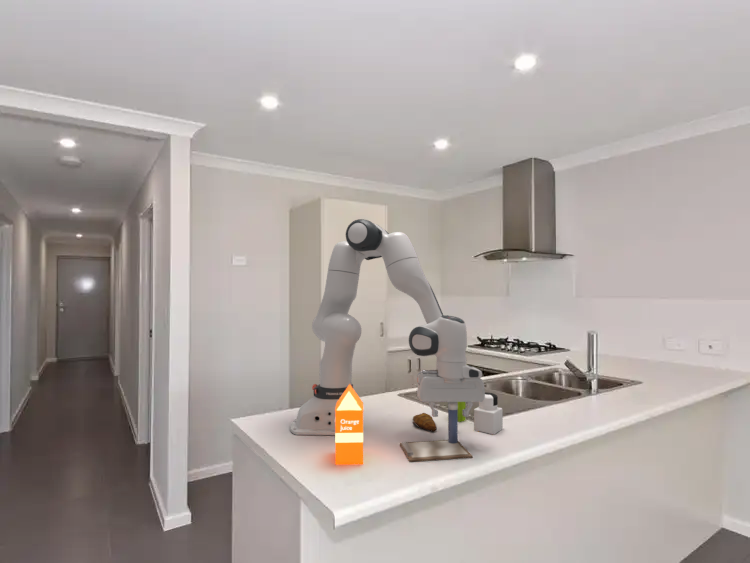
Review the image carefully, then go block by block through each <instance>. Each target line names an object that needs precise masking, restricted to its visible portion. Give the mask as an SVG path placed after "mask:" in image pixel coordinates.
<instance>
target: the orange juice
mask: <svg viewBox="0 0 750 563" xmlns="http://www.w3.org/2000/svg"><path fill="white" fill-rule="evenodd" d="M334 436H335V438H334V439H335V440H334V442H335V447H334V448H335V453H334V454H335V457H334V458H335V462H334V463H335V465H336V466H340V465H341V466H345V465H347V466H349V465H353V466H355V465H364V402H363V400H362V399H361V398H360V396H359V395H358V393H357V392H356V390H355V389H354V387H353V388H352V386H351V385H350V384H349V386H348V387H347V388H346V390H345V391H344V393H343V394H342V396H341V397H340V399H339V400H338V402H337V403H336V408H335V435H334Z"/></svg>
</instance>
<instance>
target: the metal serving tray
mask: <svg viewBox="0 0 750 563" xmlns="http://www.w3.org/2000/svg"><path fill="white" fill-rule="evenodd" d="M399 446H400V448H401V449H402V451H403V452H404V454H405V456H406V458H407V459H408V461H409V463H414V462H415V463H416V462H432V461H446V460H447V461H449V460H460V459H473V457H474V456H473V454H472V453H471V452H470V451H469V450H468V449H467V448H466V447H465V446H464V445H463V444H462V443H461V442H460V441H459V440H458V443H449V442H448V439H440V440H424V441H410V442H409V441H405V442H403V441H402V442H399Z"/></svg>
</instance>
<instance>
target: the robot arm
mask: <svg viewBox="0 0 750 563" xmlns="http://www.w3.org/2000/svg"><path fill="white" fill-rule="evenodd" d="M380 258H382V260H383V262H384V266H385V269H386V272H387V276H388V279H389V281H390V283H391V284H392V286H393V288H395V289H397V290H398V291H399V292H402V293H404V294H406V295H407V296H409V297H411V298H412V300H414V301H415V302H416V303H417V305H418V307H419V308H420V310H421V313H422V316H423V317H424V318H423V319H424V321H425V323H426V324H425V323H424V324H423V325H418V326H416V327H413V329H412V330H411V331H410V333H409V336H408V345H409V348H410V350H411V351H412V353H414V354H415V355H416V356H420V357H429V356H431V357H432V356H435V357H436V369H422V370H421V371H419V372H418V373H417V375H416V376H417V378H416V381H417V384H418V385H417V390H416V392H417V393H416V397H417V399H418V400H419V401H420V402H422V403H428V406H429V407H430V409H431V417H432V418H438V417H439V410H438V409H435V407H434V406H435V404H436V403H448V402H466V408H465V409H462V412H463V413H462V415H463V416H464V417H469V414H470V411H471V409H472V407H473V404H474V402H475V403H479V402H482V401H483V400H484V398H485V393H486V392H485V390H486V389H485V382H484V381H483V379H482V376H483V371H482V370H481V369H478V368H476V367H474V366H471V365H469V364H467V357H466V356H467V355H466V352H467V351H466V350H467V348H468V333H467V326H466V322H465V321H464V320H463V318H460V317H457V316H453V315H444V314H443V310H442V309H441V306H440V304H439V301H438V298H437V297H436V294H435V292H434V289H433V288H432V286H431V285H430V282H429V281H428V278H427V277H426V275H425V273H424V270H423V268H422V265H421V263H420V260H419V258H418V254H417V252H416V249H415V247H414V245H413V243H412V241H411V239H410V238H409V236H408V235H407V234H406V233H404V232H403V231H394V232H391V233H389V232H388V231H387V230H385V229H384V228H383V227H382V226H380V225H379V224H376V223H373V222H372V221H370V220H368V219H365V218H364V219H363V218H361V219H355V220H353V221H352V222H351V223H349V225H348V226H347V228H346V231H345V240H342V241H338V242H337V243H336V244H335V245H334V246H333V249H332V251H331V254H330V258H329V262H328V267H327V274H326V280H325V287H324V293H323V296H322V299H321V302H320V305H319V307H318V311H317V314H316V316H315V317H314V319H313V321H312V324H311V329H312V332H313V333H314V335H315V336H316V338H318V340H320V341H321V342H324V349H323V352H322V353H323V354H322V357H321V359H320V361H319V384H316V383H314V384H313V385H312V386H311V388H312V391H313V396H312V397H311V398H310V399H308V401H306V402H305V403H303V404H302V405H301V406H300V408H299V409H298V411H297V415H296V419H294V420H293V421H291V423H290V426H289V430H290V432H291V433H292V434H293V435H297V436H298V435H299V436H301V435H305V436H307V435H309V436H315V435H316V436H335V408H336V403H337V402H338V400H339V399H340V397H341V396H342V394H343V393H344V391H345V390H346V388H347V387H348V386H349V384H350V385H351V386H352V388H353V389H354V384H353V382H352V380H353V375H352V374H353V373H352V372H353V358H354V354H355V353H354V352H355V348H356V346H357V343H358V341H359V340H360V339H361V336H362V326H361V324H360V322H359V320H357V319H356V318H355V317H353V316H352V315H350V314H349V311H350V309H351V306H352V305H353V303H354V301H355V299H356V298H357V296H358V295H357V293H358V286H359V280H360V279H359V278H360V273H361V265H362V263H363V261H364V260H366V261H370V260H374V259H380ZM466 364H467V365H466Z"/></svg>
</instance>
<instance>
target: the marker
mask: <svg viewBox="0 0 750 563" xmlns="http://www.w3.org/2000/svg"><path fill="white" fill-rule="evenodd" d="M447 413H448V414H447V418H448V422H447V426H448V434H447V437H448V438H447V440H448V442H449V443H458V441H459V440H458V439H459V438H458V436H459V435H458V434H459V433H458V432H459V430H458V428H459V426H458V425H459V424H458V423H459V422H458V402H447Z"/></svg>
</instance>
